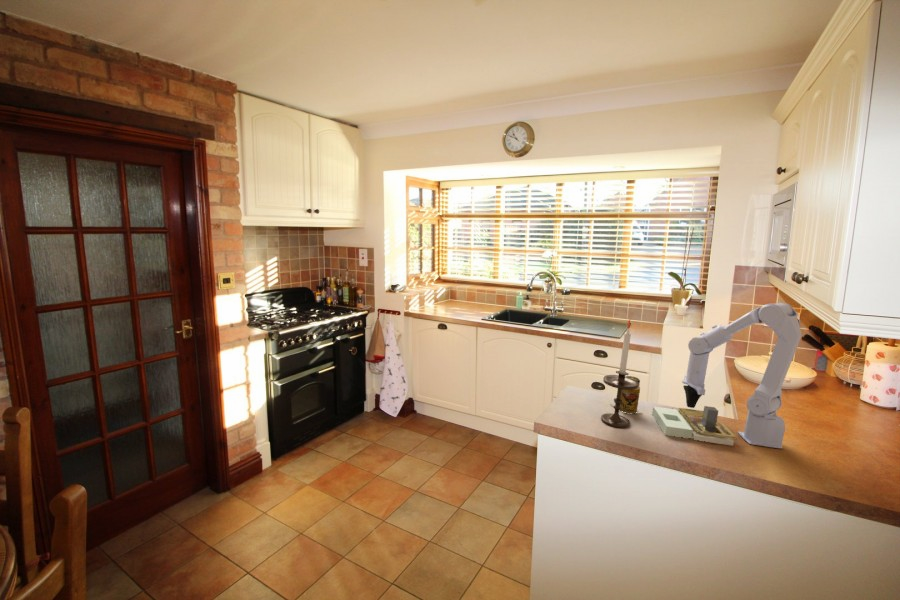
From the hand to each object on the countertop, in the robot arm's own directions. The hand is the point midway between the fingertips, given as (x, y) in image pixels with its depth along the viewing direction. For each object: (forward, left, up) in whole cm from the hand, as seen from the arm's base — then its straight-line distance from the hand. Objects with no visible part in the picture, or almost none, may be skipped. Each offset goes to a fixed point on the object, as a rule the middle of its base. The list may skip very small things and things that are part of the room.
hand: (690, 406), depth 153 cm
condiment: (+22, +3, -3) cm, 22 cm away
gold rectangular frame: (0, +14, -1) cm, 14 cm away
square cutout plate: (+10, +13, -3) cm, 17 cm away
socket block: (0, +16, -3) cm, 16 cm away
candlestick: (+28, +16, -3) cm, 32 cm away
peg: (0, +16, -3) cm, 16 cm away
